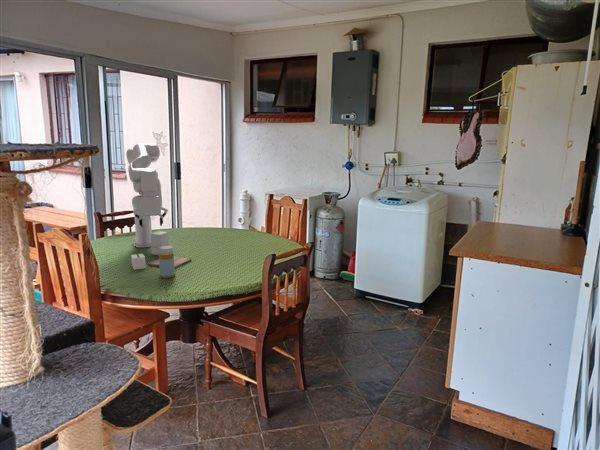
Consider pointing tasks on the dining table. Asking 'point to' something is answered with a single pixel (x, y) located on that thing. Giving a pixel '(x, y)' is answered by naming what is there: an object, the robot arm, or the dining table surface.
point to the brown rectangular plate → (177, 262)
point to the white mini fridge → (138, 261)
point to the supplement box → (158, 241)
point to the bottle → (166, 262)
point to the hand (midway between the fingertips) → (151, 226)
